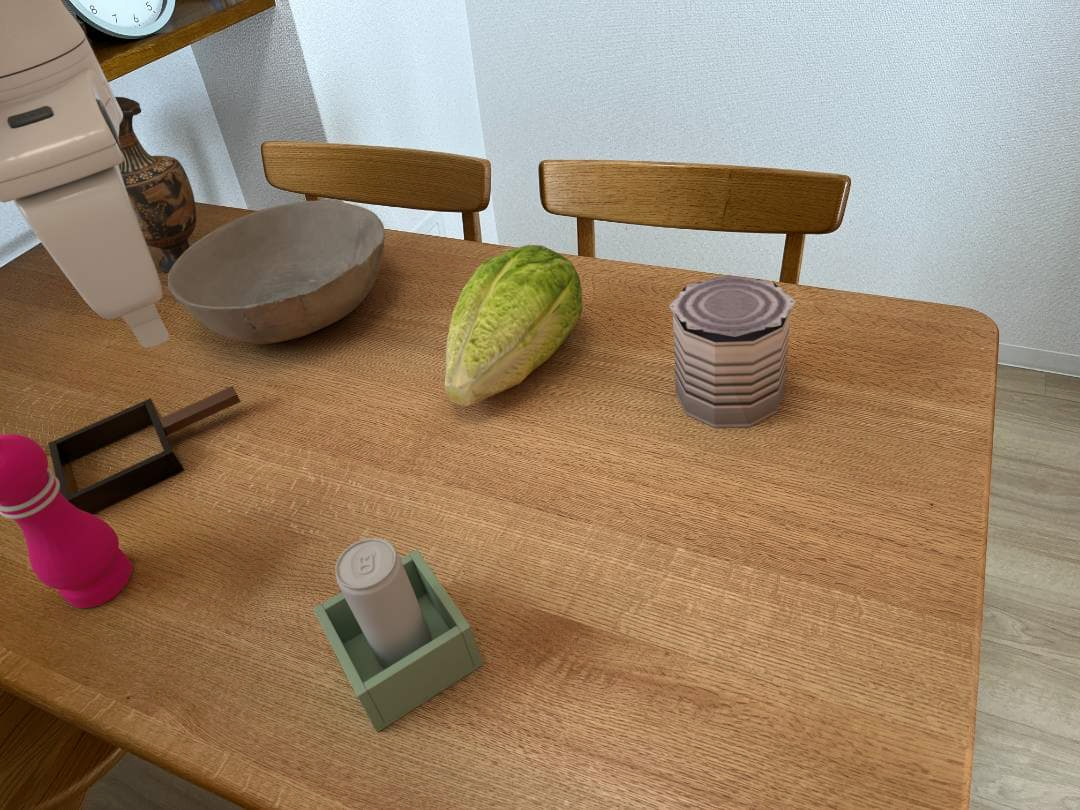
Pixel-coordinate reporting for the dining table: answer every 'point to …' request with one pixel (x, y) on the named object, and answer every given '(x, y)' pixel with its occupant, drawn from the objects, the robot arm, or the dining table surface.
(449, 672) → the bin
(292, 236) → the bowl
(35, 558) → the pepper mill
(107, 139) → the robot arm
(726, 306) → the can
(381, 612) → the beverage can
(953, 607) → the dining table surface
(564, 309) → the lettuce
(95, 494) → the handled rectangular frame
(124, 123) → the vase
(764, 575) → the dining table surface
